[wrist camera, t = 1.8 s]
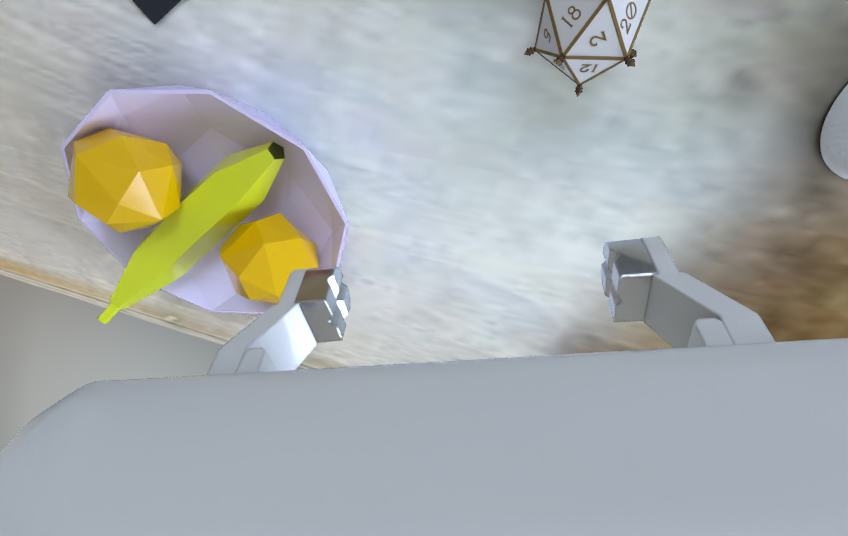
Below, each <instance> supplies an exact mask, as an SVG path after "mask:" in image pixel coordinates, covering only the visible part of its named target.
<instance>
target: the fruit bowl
mask: <svg viewBox="0 0 848 536" xmlns="http://www.w3.org/2000/svg"><path fill="white" fill-rule="evenodd" d="M60 147H61V151H62V155H63V160H64V164H65V168H66V172H67V176H68V180H69V187H68V197H69V198H70V199H71V200H72V201H73V202H74V205H75V209H76V213H77V218H78V220H79V221H80V222H81V223H82V224H83V225H84V226H85V227H86V228H87V229H88V230H89V231H90V232H91V233H92V234H93V235H94V236H95V237H96V238H97V239H98V240H99V241H100V243H101V244H102V245H103V246H104V247H105V248H106V249H107V250H108V251H109V252H110V253H111V254H112V255H113V256H114V257H115V258H116V259H117V260H118V261H119V262H120V263H121V264H122V265H123V266H124V267H125V268H126V269H125V271H124V273H123V275H122V277H121V279H120V281H119V283H118V285H117V287H116V289H115V291H114V293H113V295H112V297H111V299H110V301H109V302H111V303H110V304H109V306H108V307H107V308H106V309H105V310H104V311H103V312H102V313H101V314H100V315H99V317H98V318H97V319H98V320H99V321H101V322H102V323H105V324H107V323H108V322H109V321H110V320H111V319H112V318H113V316H114V315H115V314H116V313H117V312H118V311H119V310H120V309H126V308H128V307H130V306H131V305H133V304H135V303H136V302H138V301H140V300H142V299H143V298H145V297H147V296H149V295H150V294H152V293H154V292H156V291H157V290H159V289H160V290H162V291H164V292H167V293H169V294H171V295H173V296H176V297H178V298H180V299H182V300H185V301H187V302H189V303H192V304H194V305H196V306H198V307H201V308H203V309H205V310H207V311H210V312H217V313H250V314H263V313H264V312H266V311H267V310H268V309H269V308H271V307H272V306H273V305H278V303H279V300H280V298H281V295H282V293H283V290H284V288H285V286H286V283H287V281H288V278H289V276H290V273H291V272H292V271H293V270H298V269H309V268H324V267H339V265H340V260H341V256H342V252H343V248H344V243H345V239H346V235H347V231H348V226H349V223H348V221H347V218H346V216H345V213H344V211H343V208H342V205H341V203H340V200H339V198H338V195H337V193H336V190H335V188H334V185H333V183H332V180H331V178H330V175H329V173H328V172H327V170H326V169H325V168H324V167H323V166H322V165H321V164H320V163H319V161H318V160H317V159H316V158H315V157H314V156H313V155H312V153H311V152H310V151H309V150H308V149H307V148H306V147H305V146H304V145H303V144H302V143H300V142H299V141H298V140H297V139H296V138H295V137H293V136H292V135H291V134H290V133H289V132H288V131H286V130H285V129H284V128H283V127H282V126H281V125H279V124H278V123H277V122H276V121H275V120H274V119H272V118H271V117H270V116H269V115H268V114H266V113H264V112H262V111H259V110H257V109H254V108H252V107H250V106H247V105H245V104H243V103H240V102H238V101H235V100H233V99H231V98H228V97H226V96H224V95H221V94H219V93H216V92H214V91H212V90H209V89H203V88H196V87H190V86H184V85H169V86H155V87H141V88H128V89H114V90H107V92H106V93H105V94H104V95H103V96H102V97H101V99H100V100H99V101H98V102H97V103H96V105H95V106H94V107H93V108H92V109H91V110H90V112H89V113H88V114H87V115H86V116H85V117H84V119H83V120H82V121H81V122H80V123H79V125H78V126H77V127H76V128H75V129H74V130H73V132H72V133H71V134H70V135H69V136H68V137H67V139H66V140H65V141H64V142H63V143H62V145H61V146H60Z"/></svg>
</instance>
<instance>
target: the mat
mask: <svg viewBox="0 0 848 536" xmlns="http://www.w3.org/2000/svg"><path fill="white" fill-rule="evenodd" d="M180 1H181V0H133V2H134V3H135V4H136V5H137V6H138V7H139V8H140V9H141V10H142V11H143V13H144V14H145V15H146V16H147V17H148V18H149V19H150V20H151V21H152V22H153V23H154V24H156V23H157V22H158V21H159V20H160V19H161V18H163V17H164V16H165V15H166V14H167V13H168V12H169V11H170V10H171V9H172V8H173V7H174V6H175V5H176V4H178V3H179V2H180Z"/></svg>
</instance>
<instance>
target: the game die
mask: <svg viewBox="0 0 848 536" xmlns="http://www.w3.org/2000/svg"><path fill="white" fill-rule="evenodd" d="M650 1H651V0H544V3H543V8H542V13H541V18H540V23H539V28H538V33H537V38H536V43H535V47H533V48H531V47H530V48H529V49H528V48H527V51H526V52H525V54H524V55H529V56H530V55H531V54H534V52H537V53H539V54H540V55H541V56H542V57H544V58H545V59H546V60H547V61H549V62H550V63H551V64H552V65H554V66H555V67H556V68H558V69H559V70H560V71H561V72H563V73H564V74H565V75H566V76H568V77H569V78H570V79H571V80H573V81H574V82H575V83H576V84H577V87H576V90H575V92H576V94H577V97H578V96H579V95H580V93H581V92H583V91H582V89H583V88H582V84H584V83H586V82H587V81H589V80H591V79H593V78H595V77H596V76H598V75H600V74H602V73H604V72H605V71H607V70H609V69H611V68H613V67H614V66H616V65H618V64H620V63H622V62H623V61H625V64H627V66H635V63H634V62H635V60H634V59H632V58H633V57H637V55H636V54H637V53H636V50H635V51H634V49H632V47H633V44H634V42H635V39H636V37H637V34H638V32H639V29H640V27H641V24H642V21H643V19H644V16H645V14H646V11H647V9H648V6H649V4H650ZM629 56H630V57H629Z"/></svg>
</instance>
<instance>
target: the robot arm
mask: <svg viewBox="0 0 848 536" xmlns="http://www.w3.org/2000/svg"><path fill="white" fill-rule="evenodd" d="M820 148H821V154H822V157H823V159H824V161H825V163H826V165H827V166H828V167H829V169H830V170H832V171H833V172H834V173H835V174H837V175H838V176H840V177H842V178H844V179H847V180H848V84H847V85H846V87H845V88H844V89H843V90H842V92H841V93H840V94H839V96H838V97H837V99H836V100H835V102H834V103H833V105H832V107H831V109H830V110H829V112H828V114H827V117H826V119H825V122H824V124H823V128H822V132H821V138H820ZM603 255H604V258H605V262H604V263H603V264H602V269H601V277H602V286H603V290H604V293H605V295H606V296H607V297H609V305H608V306H609V309H610V312H611V315H612V318H613V321H614V322H630V321H644V322H645V323H646V324H647V325H648V326H649V327H650V328H651V329H653V330H654V331H655V332H656V333H657V334H658V335H660V336H661V337H662V338H663V339H664V340H665V341H667V342H668V343H669V344H670V345H671V346H672V347H673V348H667V349H650V350H633V351H617V352H600V353H582V354H565V355H547V356H530V357H512V358H495V359H478V360H461V361H444V362H427V363H410V364H393V365H375V366H358V367H340V368H323V369H305V370H295V369H296V368H297V367H298V366H299V365H300V364H301V362H302V361H303V360H304V359H305V358H306V357H307V355H308V354H309V353H310V352H311V351H312V350H313V349H314V347H315V346H316V345H317V343H319V342H330V341H340V340H343V336H344V332H345V328H346V323H345V320H344V318H345V317H346V316H347V315H348V314H349V311H350V295H349V290H348V288H347V286H346V285H345V284H343V283H342V278H343V274H342V272H341V270H340V268H339V267H324V268H309V269H298V270H293V271H292V272H291V273H290V276H289V278H288V281H287V283H286V286H285V288H284V290H283V293H282V295H281V298H280V300H279V303H278V305H273V306H272V307H271V308H269V309H268V310H267V311H266V312H264V313H263V314H262V315H261V316H259V317H258V318H257V319H256V320H254V321H253V322H252V323H251V324H250V325H248V326H247V327H246V328H245V329H243V330H242V331H241V332H240V333H238V334H237V335H236V336H235V337H233V338H232V339H231V340H230V341H228V342H227V343H226V344H225V345H224V346H222V347H221V348H220V349H219V350H218V352H217V354H216V356H215V358H214V360H213V363H212V365H211V367H210V369H209V371H208V373H207V375H202V376H183V377H167V378H149V379H132V380H109V381H97V382H92V383H89V384H86V385H84V386H82V387H81V388H79V389H77V390H76V391H74V392H72V393H71V394H69V395H67V396H66V397H64V398H63V399H61V400H60V401H58V402H57V403H55V404H54V405H52V406H51V407H49V408H48V409H46V410H45V411H43V412H42V413H40V414H39V415H38V416H36V417H35V418H33V419H32V420H31V421H29V422H28V423H27V424H26V425H25V426H24V427H23V428H22V429H21V430H20V431H19V432H18V433H17V434H16V435H15V436H14V437H13V439H12V440H11V441H10V442H9V443H8V444H7V445H6V447H5V448H4V449H3V450H2V451H1V453H0V536H848V338H839V339H822V340H805V341H788V342H775V340H774V339H773V337H772V335H771V334H770V332H769V331H768V329H767V327H766V326H765V324H764V323H763V321H762V319H761V318H760V316H759V315H758V314H757V313H756V312H754V311H752V310H750V309H749V308H747V307H745V306H743V305H742V304H740V303H738V302H736V301H734V300H733V299H731V298H729V297H727V296H726V295H724V294H722V293H720V292H719V291H717V290H715V289H713V288H712V287H710V286H708V285H706V284H704V283H703V282H701V281H699V280H697V279H696V278H694V277H692V276H690V275H689V274H687V273H685V272H679V271H678V270H677V268H676V266H675V264H674V262H673V260H672V258H671V256H670V254H669V252H668V250H667V248H666V246H665V244H664V242H663V240H662V239H661V238H660V237H659V236H657V237H648V238H641V239H633V240H623V241H612V242H605V243H604V247H603Z"/></svg>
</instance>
